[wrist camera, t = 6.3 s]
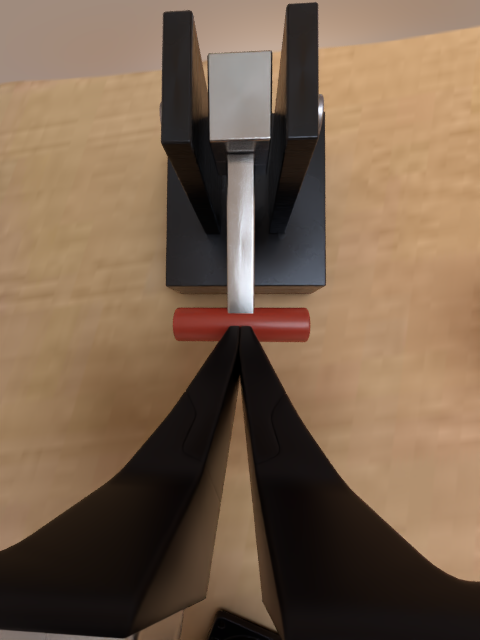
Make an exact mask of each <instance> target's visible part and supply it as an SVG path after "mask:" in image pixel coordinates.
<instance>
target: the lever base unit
mask: <svg viewBox="0 0 480 640" xmlns="http://www.w3.org/2000/svg"><path fill="white" fill-rule="evenodd" d="M162 50H163V51H162V102H161V103H160V121H161V144H162V146H163V148H164V150H165V152H166V154H167V156H168V174H167V244H166V286H167V287H169V288H171V289H173V290H175V291H178V292H180V293H182V294H227V180H226V175H222V176H219V175H218V173H217V169H216V166H215V162H214V158H213V155H212V151H211V147H210V144H209V132H208V92H207V87H206V81H205V76H204V71H203V65H202V60H201V54H200V49H199V45H198V38H197V33H196V28H195V22H194V17H193V13H192V11H190V10H186V11H170V12H164V13H163V47H162ZM325 285H326V241H325V112H324V98H323V95H321V94H319V87H318V3H316V2H314V3H297V4H288V5H287V8H286V15H285V24H284V34H283V42H282V52H281V61H280V70H279V79H278V88H277V97H276V106H275V113H272V127H271V145H270V153H269V161H268V169H267V174H260V175H255V279H254V294H311V293H313V292H315V291H317V290H318V289H320V288H322V287H324V286H325Z"/></svg>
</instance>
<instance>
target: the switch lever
mask: <svg viewBox="0 0 480 640" xmlns="http://www.w3.org/2000/svg"><path fill="white" fill-rule="evenodd" d="M271 127H272V51H270V50H268V51H249V52H230V53H209V54H208V132H209V144H210V147H211V151H212V155H213V158H214V162H215V166H216V169H217V173H218V175H219V176H222V175H226V180H227V308H177V309H176V311H175V313H174V317H173V333H174V336H175V339H176V340H178V341H220V339H221V338H222V336H223V335H224V333H225V332H226V330H227V329H228V328H229V326H240V327H241V326H251V327H252V329H253V331H254V333H255V335H256V336H257V338H258V340H259V342H306V341H307V340H308V338H309V334H310V316H309V312H308V310H307V309H306V308H254V279H255V175H260V174H267V169H268V161H269V153H270V145H271Z"/></svg>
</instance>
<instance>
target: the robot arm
mask: <svg viewBox="0 0 480 640" xmlns="http://www.w3.org/2000/svg"><path fill="white" fill-rule="evenodd" d="M239 381H240V383H241V394H242V403H243V413H244V423H245V433H246V443H247V453H248V463H249V472H250V482H251V492H252V502H253V512H254V522H255V532H256V542H257V551H258V561H259V571H260V581H261V591H262V602H263V604H264V605H265V607H266V609H267V611H268V613H269V615H270V617H271V619H272V621H273V623H274V625H275V627H276V629H277V631H278V633H279V635H280V636H279V635H277V634H275V633H272V632H270V631H268V630H266V629H263V628H261V627H259V626H257V625H254V624H252V623H250V622H248V621H245V620H243V619H241V618H239V617H236V616H234V615H232V614H230V613H227V612H225V611H219V612H217V613H216V615H215V618H214V621H213V623H212V626H211V629H210V632H209V634H208V637H207V640H480V582H475V581H465V580H461V579H458V578H455V577H453V576H451V575H449V574H447V573H445V572H444V571H442V570H441V569H439V568H437V567H436V566H434V565H433V564H432V563H431V562H429V561H428V560H427V559H426V558H425V557H423V556H422V555H421V554H420V553H419V552H418V551H417V550H416V549H415V548H414V547H412V546H411V545H410V544H409V543H408V542H407V541H406V540H405V539H404V538H403V537H402V536H401V535H399V534H398V533H397V532H396V531H395V530H394V529H393V528H392V527H391V526H390V525H389V524H388V523H386V522H385V521H384V520H383V519H382V518H381V517H380V516H379V515H378V514H377V513H376V512H375V511H373V510H372V509H371V508H370V507H369V506H368V505H367V504H366V503H365V502H364V501H363V500H362V499H360V498H359V497H358V496H357V495H356V494H355V493H354V492H353V491H352V490H351V489H350V488H349V487H348V485H347V484H346V483H345V482H344V481H343V479H342V478H341V477H340V476H339V474H338V473H337V471H336V470H335V469H334V467H333V466H332V464H331V463H330V461H329V460H328V459H327V457H326V456H325V454H324V453H323V451H322V450H321V448H320V447H319V446H318V444H317V443H316V441H315V440H314V438H313V437H312V435H311V434H310V432H309V431H308V429H307V428H306V426H305V425H304V423H303V422H302V420H301V419H300V417H299V415H298V414H297V412H296V410H295V408H294V407H293V405H292V403H291V401H290V399H289V397H288V395H287V394H286V392H285V390H284V388H283V386H282V384H281V382H280V380H279V378H278V377H277V375H276V373H275V371H274V369H273V367H272V365H271V363H270V361H269V359H268V357H267V356H266V354H265V352H264V350H263V348H262V346H261V344H260V342H259V340H258V338H257V336H256V335H255V333H254V331H253V329H252V327H251V326H241V327H240V326H229V328H228V329H227V330H226V332H225V333H224V335H223V336H222V338H221V339H220V341H219V342H218V344H217V345H216V347H215V348H214V350H213V351H212V353H211V354H210V355H209V357H208V358H207V360H206V361H205V363H204V364H203V366H202V367H201V369H200V370H199V372H198V373H197V375H196V376H195V378H194V379H193V380H192V382H191V383H190V385H189V386H188V388H187V389H186V392H184V394H183V395H182V396H181V398H180V399H179V401H178V402H177V404H176V405H175V406H174V408H173V409H172V411H171V412H170V413H169V415H168V416H167V417H166V418H165V419H164V421H163V422H162V423H161V424H160V426H159V427H158V428H157V429H156V430H155V432H154V433H153V434H152V435H151V436H150V437H149V439H148V440H147V441H146V442H145V443H144V445H143V446H142V447H141V448H140V449H139V450H138V452H137V453H136V454H135V455H134V456H133V457H132V459H131V460H130V461H129V462H128V463H127V464H126V465H125V467H124V468H123V469H122V470H121V471H120V472H119V473H117V474H116V475H115V476H114V477H113V478H112V479H111V480H109V481H108V482H107V483H105V484H104V485H103V486H101V487H100V488H98V489H97V490H95V491H94V492H93V493H91V494H90V495H88V496H87V497H85V498H84V499H82V500H81V501H80V502H78V503H77V504H75V505H74V506H72V507H71V508H69V509H68V510H66V511H65V512H64V513H62V514H61V515H59V516H58V517H56V518H55V519H53V520H52V521H51V522H49V523H48V524H46V525H45V526H43V527H42V528H40V529H39V530H37V531H36V532H35V533H33V534H32V535H30V536H29V537H27V538H25V539H24V540H22V541H21V542H19V543H17V544H15V545H13V546H11V547H9V548H7V549H5V550H2V551H0V640H180V637H181V629H182V622H183V615H184V609H186V608H188V607H190V606H192V605H194V604H196V603H198V602H200V601H202V600H204V599H206V595H207V589H208V582H209V576H210V569H211V563H212V556H213V550H214V543H215V537H216V531H217V524H218V518H219V511H220V505H221V504H220V502H221V498H222V492H223V485H224V479H225V472H226V466H227V459H228V453H229V447H230V440H231V434H232V427H233V421H234V414H235V408H236V402H237V395H238V389H239Z"/></svg>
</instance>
